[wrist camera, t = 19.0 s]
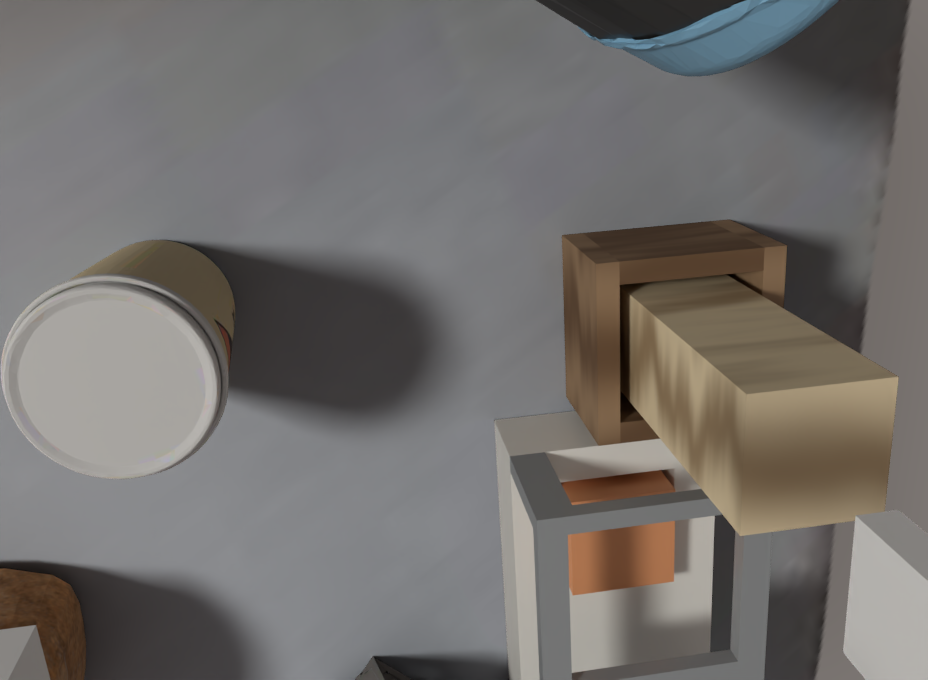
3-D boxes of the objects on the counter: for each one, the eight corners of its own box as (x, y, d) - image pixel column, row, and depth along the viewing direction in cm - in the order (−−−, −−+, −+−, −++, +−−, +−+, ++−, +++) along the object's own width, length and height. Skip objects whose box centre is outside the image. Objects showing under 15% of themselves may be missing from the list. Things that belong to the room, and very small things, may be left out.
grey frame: (494, 420, 54) (536, 520, 42) (684, 398, 55) (774, 490, 44) (509, 689, 60) (549, 838, 49) (679, 663, 61) (756, 803, 50)
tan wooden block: (596, 265, 51) (746, 394, 33) (695, 256, 52) (898, 376, 33) (597, 362, 53) (740, 536, 35) (693, 352, 54) (884, 517, 35)
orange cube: (545, 453, 54) (570, 502, 49) (639, 442, 55) (675, 489, 49) (548, 538, 56) (572, 595, 51) (639, 526, 57) (673, 581, 51)
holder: (562, 235, 50) (596, 263, 44) (729, 219, 52) (787, 245, 45) (566, 396, 54) (598, 446, 47) (723, 378, 55) (776, 424, 48)
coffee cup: (195, 415, 51) (155, 521, 40) (42, 330, 48) (-47, 418, 37) (283, 285, 49) (267, 356, 38) (129, 189, 47) (64, 236, 35)
